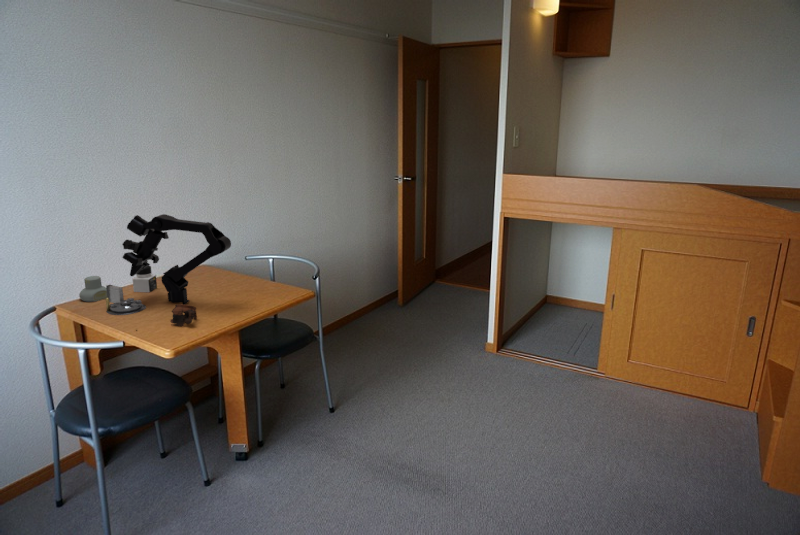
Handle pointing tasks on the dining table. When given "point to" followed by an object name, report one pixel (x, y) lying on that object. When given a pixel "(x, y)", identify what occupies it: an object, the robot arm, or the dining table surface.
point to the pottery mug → (180, 318)
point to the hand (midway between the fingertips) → (131, 275)
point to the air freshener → (93, 290)
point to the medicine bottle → (144, 281)
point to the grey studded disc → (121, 300)
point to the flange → (121, 313)
